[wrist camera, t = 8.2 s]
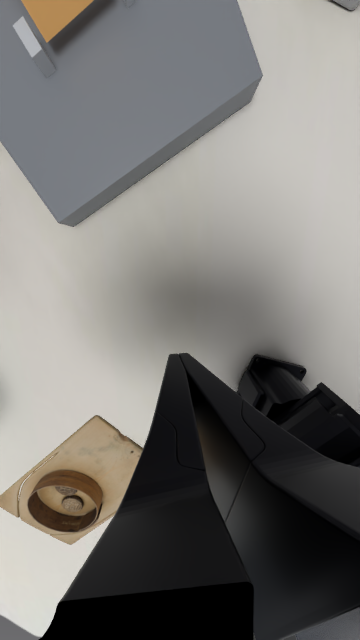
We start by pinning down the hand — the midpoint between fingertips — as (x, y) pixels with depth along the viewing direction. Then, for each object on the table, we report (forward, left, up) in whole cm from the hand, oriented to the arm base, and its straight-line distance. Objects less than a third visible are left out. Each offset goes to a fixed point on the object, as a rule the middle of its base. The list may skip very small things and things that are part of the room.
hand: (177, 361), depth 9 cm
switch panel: (+9, -15, -13) cm, 21 cm away
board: (+6, +31, -13) cm, 35 cm away
